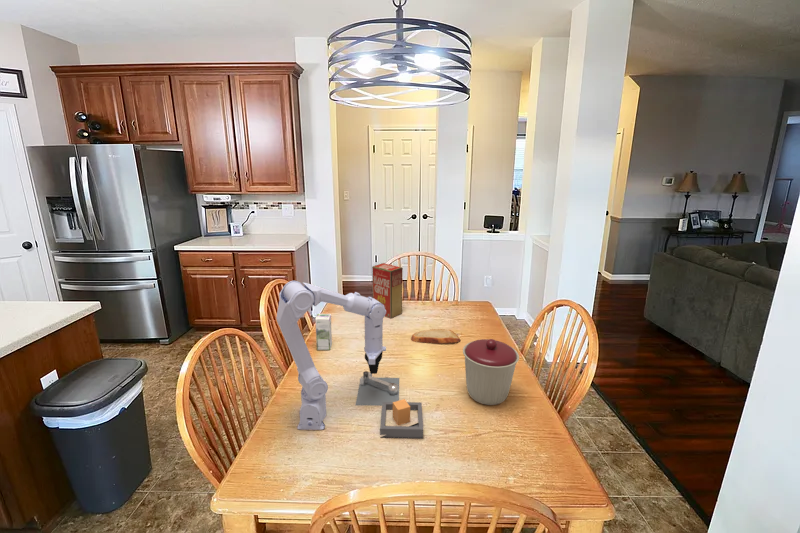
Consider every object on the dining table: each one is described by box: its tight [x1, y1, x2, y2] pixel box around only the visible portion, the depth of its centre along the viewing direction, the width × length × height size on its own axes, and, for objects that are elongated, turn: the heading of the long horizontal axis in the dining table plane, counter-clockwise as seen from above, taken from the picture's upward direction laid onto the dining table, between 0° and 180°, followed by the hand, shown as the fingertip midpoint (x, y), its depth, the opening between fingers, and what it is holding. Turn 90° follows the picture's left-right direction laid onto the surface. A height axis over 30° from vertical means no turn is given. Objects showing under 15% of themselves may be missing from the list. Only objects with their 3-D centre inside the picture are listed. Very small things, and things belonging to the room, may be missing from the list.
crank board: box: [355, 377, 400, 407], centre depth 130 cm, size 16×14×2 cm
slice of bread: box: [410, 328, 461, 345], centre depth 169 cm, size 18×18×4 cm
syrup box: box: [314, 313, 333, 351], centre depth 159 cm, size 6×6×14 cm
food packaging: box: [371, 262, 403, 319], centre depth 194 cm, size 13×9×25 cm
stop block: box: [392, 398, 411, 426], centre depth 115 cm, size 4×4×6 cm
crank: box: [359, 371, 398, 395], centre depth 131 cm, size 14×5×4 cm, turn 58°
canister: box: [462, 338, 520, 406], centre depth 127 cm, size 18×18×21 cm
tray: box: [379, 401, 424, 440], centre depth 115 cm, size 12×12×3 cm
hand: (373, 372), depth 126 cm, fingers closed
